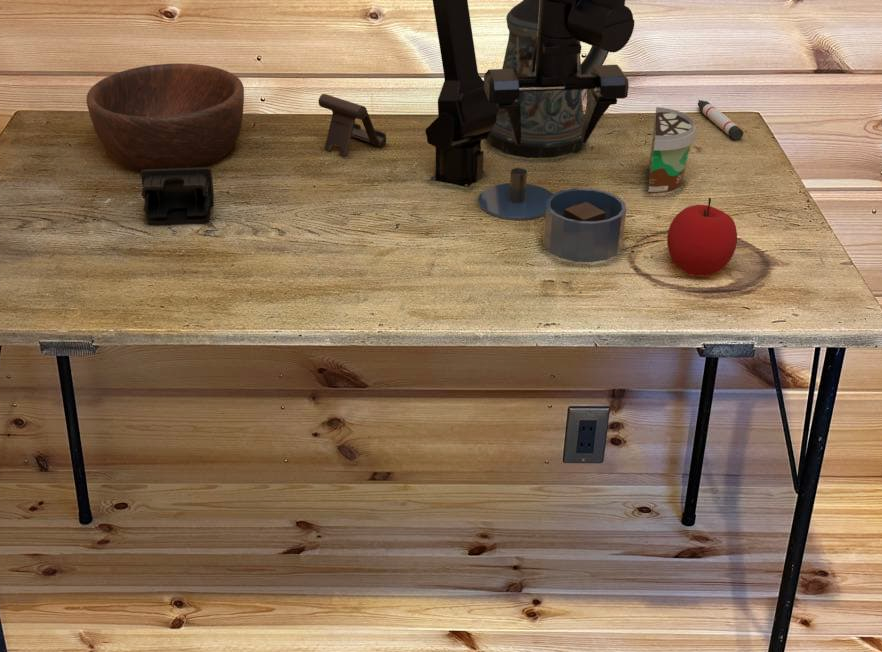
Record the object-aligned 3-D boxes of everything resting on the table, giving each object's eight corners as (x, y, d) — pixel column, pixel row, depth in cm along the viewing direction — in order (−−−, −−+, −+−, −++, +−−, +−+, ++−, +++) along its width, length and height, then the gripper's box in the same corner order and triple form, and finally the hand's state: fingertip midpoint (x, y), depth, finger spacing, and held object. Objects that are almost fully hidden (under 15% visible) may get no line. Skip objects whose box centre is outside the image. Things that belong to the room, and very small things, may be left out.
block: (561, 242, 166) (564, 208, 163) (583, 235, 168) (586, 201, 164) (580, 253, 163) (583, 219, 160) (602, 246, 165) (605, 212, 162)
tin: (531, 255, 164) (534, 213, 160) (559, 223, 171) (562, 182, 168) (606, 272, 160) (611, 229, 156) (631, 238, 167) (636, 197, 164)
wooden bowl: (99, 189, 183) (88, 126, 177) (92, 129, 203) (82, 70, 197) (259, 171, 188) (254, 109, 182) (237, 114, 208) (232, 56, 202)
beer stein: (465, 145, 195) (469, -10, 181) (532, 110, 207) (541, -38, 192) (549, 171, 186) (561, 11, 172) (614, 133, 198) (630, -20, 184)
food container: (689, 203, 176) (698, 139, 170) (647, 200, 177) (655, 137, 171) (688, 169, 186) (697, 108, 180) (648, 166, 187) (656, 105, 181)
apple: (648, 262, 162) (657, 195, 156) (699, 246, 165) (709, 179, 159) (694, 291, 155) (705, 222, 149) (746, 274, 159) (759, 205, 153)
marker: (742, 139, 195) (744, 128, 194) (731, 141, 195) (733, 129, 193) (702, 106, 207) (704, 95, 206) (692, 107, 207) (693, 96, 206)
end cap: (215, 202, 179) (210, 160, 175) (212, 223, 173) (207, 180, 169) (148, 204, 179) (142, 162, 175) (143, 226, 173) (137, 183, 169)
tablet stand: (387, 145, 195) (386, 96, 191) (355, 160, 191) (353, 110, 186) (348, 132, 200) (346, 84, 195) (315, 146, 195) (313, 97, 191)
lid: (465, 214, 174) (466, 179, 171) (496, 184, 183) (497, 149, 179) (539, 230, 170) (541, 194, 167) (567, 198, 178) (570, 163, 175)
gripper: (615, 9, 162) (603, 118, 171) (479, 14, 161) (475, 123, 170) (635, 36, 153) (622, 149, 162) (492, 42, 152) (487, 155, 161)
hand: (550, 143), depth 164 cm, fingers open, 9 cm apart
